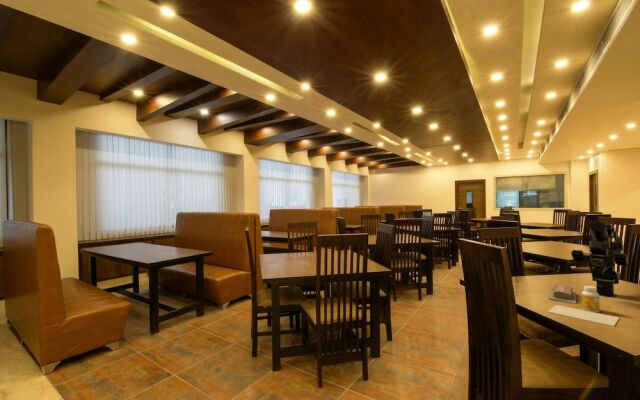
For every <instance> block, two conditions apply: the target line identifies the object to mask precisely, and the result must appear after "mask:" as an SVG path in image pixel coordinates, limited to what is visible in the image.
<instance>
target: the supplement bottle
mask: <svg viewBox="0 0 640 400" xmlns="http://www.w3.org/2000/svg"><path fill="white" fill-rule="evenodd" d="M581 299H582V300H581V305H582V306H581V307H582V310H584V311H589V312H594V313H599V312H600V295H599V294H598V293H597V288H596V286H592V285H584V286H583V290H582V292H581Z"/></svg>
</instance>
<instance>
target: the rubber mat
mask: <svg viewBox="0 0 640 400" xmlns="http://www.w3.org/2000/svg"><path fill="white" fill-rule="evenodd" d="M547 313H550V314H554V315H559V316H562V317H563V316H565V317H568V318H573V319H578V320H582V321H586V322H590V323H597V324H600V325H605V326H610V327H615V326H616V324H617V323H618V321H619V320H620V316H619V317H618V316H614V315H609V314H605V313H604V314H603V313H599V312H590V311H586V310H584V309H578V308H573V307H568V306H563V305H559V304H555V305H554V306H552V307H551V308H550V309H549V310H547Z"/></svg>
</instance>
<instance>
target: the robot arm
mask: <svg viewBox="0 0 640 400" xmlns="http://www.w3.org/2000/svg"><path fill="white" fill-rule="evenodd" d="M588 226H589V227H588V228H589V232H590V235H591V237H592V240H590V241H588V243H589V244H588V248H589V252H584V251H583V250H580V249H579V250H578V249H573V250H571V252H570V254H571V258H572V261H574V262H580V263H581V262H584V264H587V265H588V266H587V267H589V271H590V273H591V277H592V280H591V281H592V282H596V286H595V287H596V288H597V291H596V292H597V293H598V294H599V296H602V297H603V296H604V297H607V298H609V297H617V296H619V295H618V294H616V293H615V285H618V284H620V279H619V274H618V273H617V271H616V270H615V264H616V265H617V266H620V267H628V265H629V258H628V255H627V254H626V253H622V252H623V251H624V240H623V238H621V237H620V236H619V234H618V232H617V230H616V228H615V227H614V226H613V225H612V224H611V223H604V222H602V220H595V222H592V223H590V224H589V225H588ZM610 239H614V241H612V240H611V241H610ZM593 260H598V261H596V262H595V263H594V262H593Z"/></svg>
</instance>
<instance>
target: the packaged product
mask: <svg viewBox="0 0 640 400" xmlns="http://www.w3.org/2000/svg"><path fill="white" fill-rule="evenodd" d="M548 300H549V301H555V302H561V303H567V304H573V303H574V304H577V292H575V291H574V292H573V287H572V286H571V285H569V284H561V283H556V284H555V285H554V288H550V291H549V294H548Z"/></svg>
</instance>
